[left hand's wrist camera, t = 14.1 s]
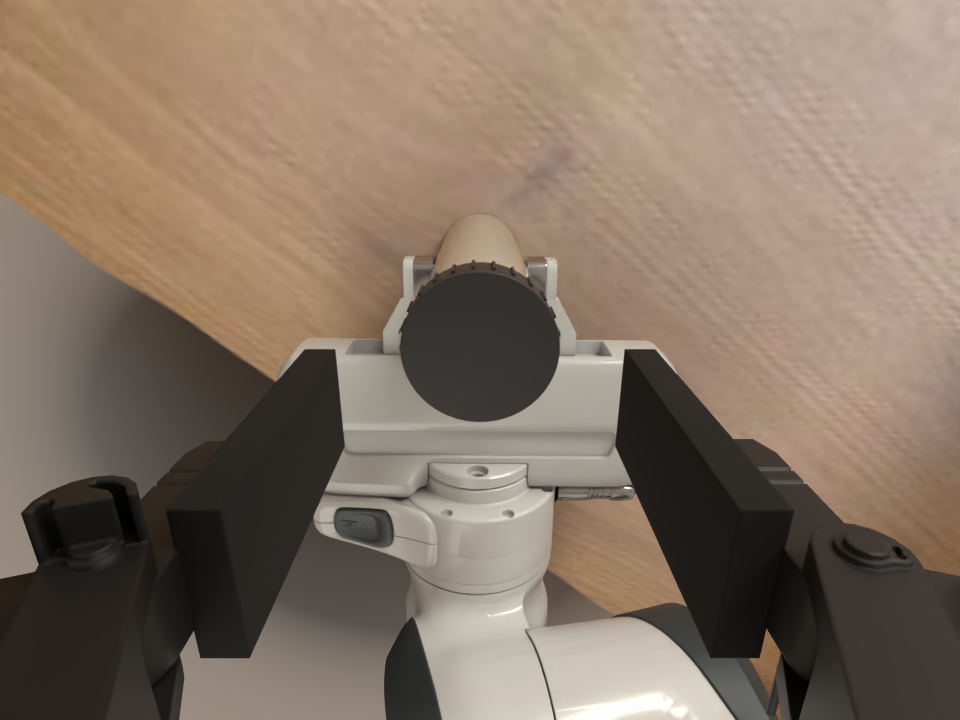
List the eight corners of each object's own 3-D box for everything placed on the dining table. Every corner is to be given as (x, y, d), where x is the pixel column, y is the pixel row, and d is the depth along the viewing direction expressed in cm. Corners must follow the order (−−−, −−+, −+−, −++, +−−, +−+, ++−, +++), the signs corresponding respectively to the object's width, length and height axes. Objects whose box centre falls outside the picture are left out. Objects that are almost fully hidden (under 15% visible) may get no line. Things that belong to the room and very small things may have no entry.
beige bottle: (524, 281, 34) (562, 396, 19) (451, 296, 35) (427, 422, 19) (510, 206, 33) (538, 261, 17) (433, 222, 33) (392, 292, 17)
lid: (567, 389, 20) (574, 408, 18) (424, 416, 20) (419, 437, 19) (542, 244, 18) (548, 253, 16) (386, 277, 18) (378, 288, 17)
